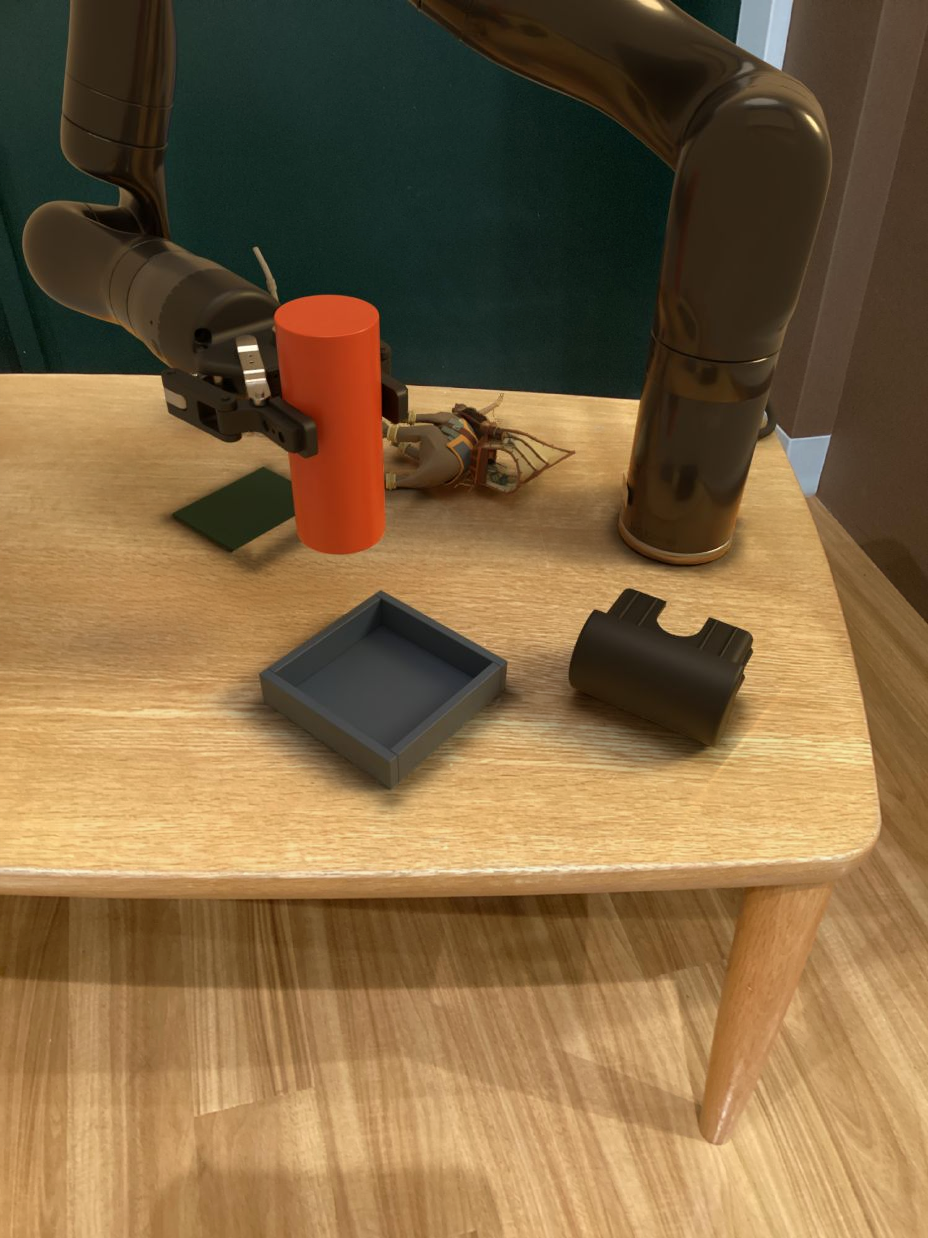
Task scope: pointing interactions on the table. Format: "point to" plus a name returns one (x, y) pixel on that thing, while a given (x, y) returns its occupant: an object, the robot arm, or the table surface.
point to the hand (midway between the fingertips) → (358, 423)
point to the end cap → (661, 666)
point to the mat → (241, 509)
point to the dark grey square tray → (384, 686)
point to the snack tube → (335, 419)
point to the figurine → (467, 450)
